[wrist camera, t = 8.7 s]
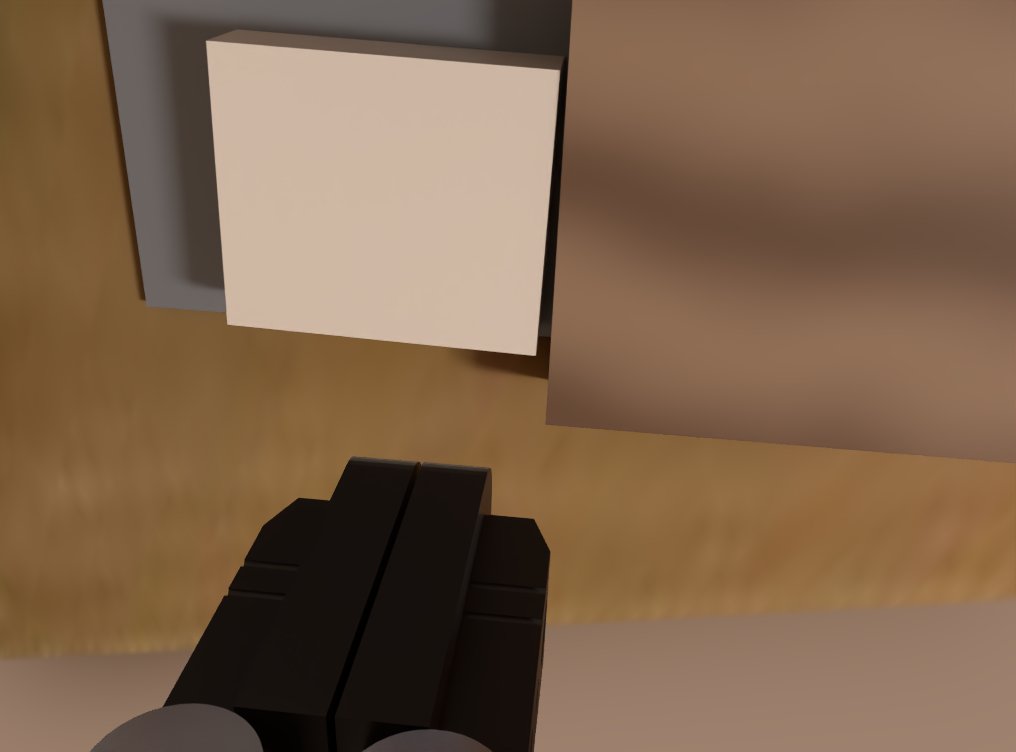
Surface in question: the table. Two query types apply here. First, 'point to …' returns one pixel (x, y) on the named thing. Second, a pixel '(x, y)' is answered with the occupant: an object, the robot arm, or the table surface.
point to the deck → (790, 224)
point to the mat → (188, 118)
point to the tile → (384, 187)
